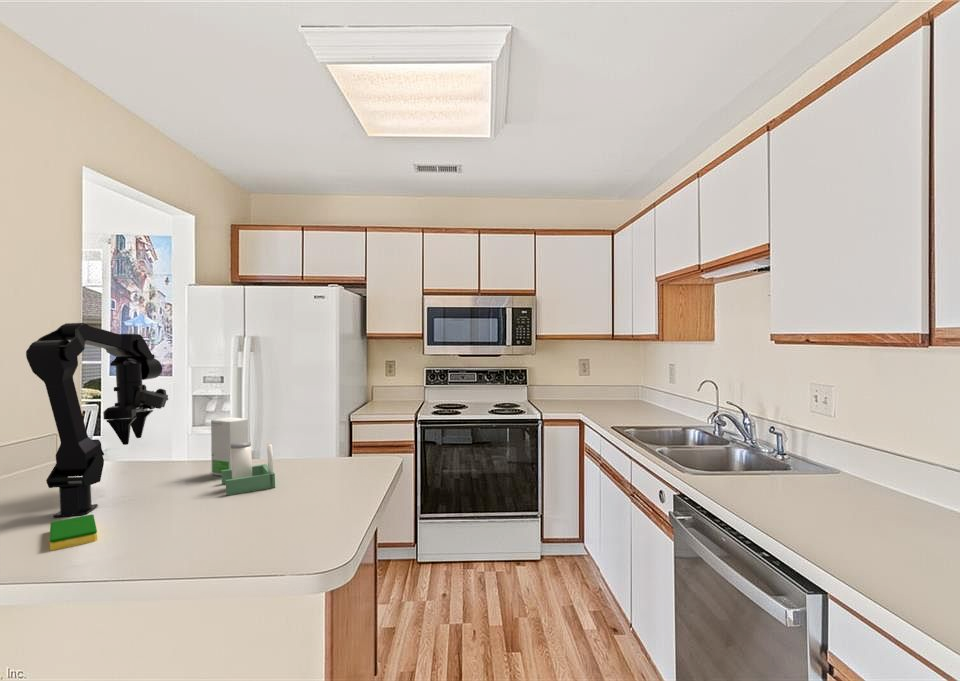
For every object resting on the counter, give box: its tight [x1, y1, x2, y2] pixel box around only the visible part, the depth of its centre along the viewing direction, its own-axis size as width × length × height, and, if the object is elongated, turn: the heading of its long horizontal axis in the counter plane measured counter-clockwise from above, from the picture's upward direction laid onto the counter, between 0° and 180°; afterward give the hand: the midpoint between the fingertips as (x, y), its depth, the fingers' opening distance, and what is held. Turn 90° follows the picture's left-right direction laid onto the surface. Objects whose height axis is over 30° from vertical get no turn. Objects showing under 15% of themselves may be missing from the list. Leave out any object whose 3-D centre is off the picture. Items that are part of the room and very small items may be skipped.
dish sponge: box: [49, 513, 98, 551], centre depth 108 cm, size 7×14×2 cm, turn 38°
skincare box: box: [210, 416, 249, 476], centre depth 156 cm, size 8×7×16 cm
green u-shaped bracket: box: [221, 443, 276, 496], centre depth 142 cm, size 11×13×10 cm
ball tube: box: [231, 441, 253, 479], centre depth 141 cm, size 5×5×11 cm
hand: (132, 441), depth 144 cm, fingers open, 9 cm apart
